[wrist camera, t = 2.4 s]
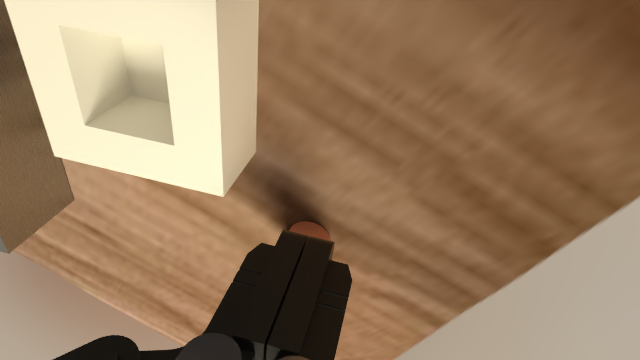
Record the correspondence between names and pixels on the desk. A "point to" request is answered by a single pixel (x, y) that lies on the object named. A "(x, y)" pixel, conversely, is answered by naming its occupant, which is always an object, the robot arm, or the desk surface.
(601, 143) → the desk surface
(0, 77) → the backstop
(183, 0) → the socket block
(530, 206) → the desk surface
